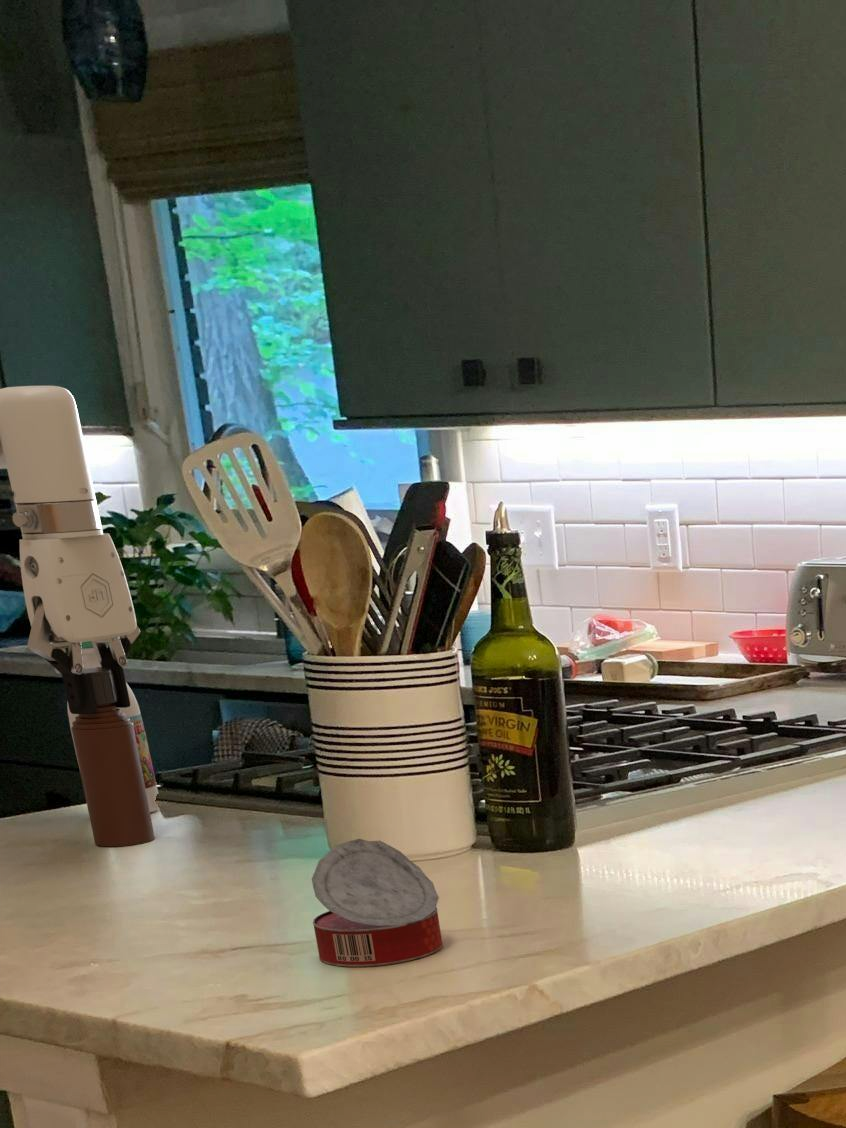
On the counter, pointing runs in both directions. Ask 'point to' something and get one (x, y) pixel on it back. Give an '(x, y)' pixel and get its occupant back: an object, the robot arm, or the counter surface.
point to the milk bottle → (135, 717)
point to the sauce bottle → (112, 777)
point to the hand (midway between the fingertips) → (100, 708)
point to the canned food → (374, 907)
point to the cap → (102, 685)
